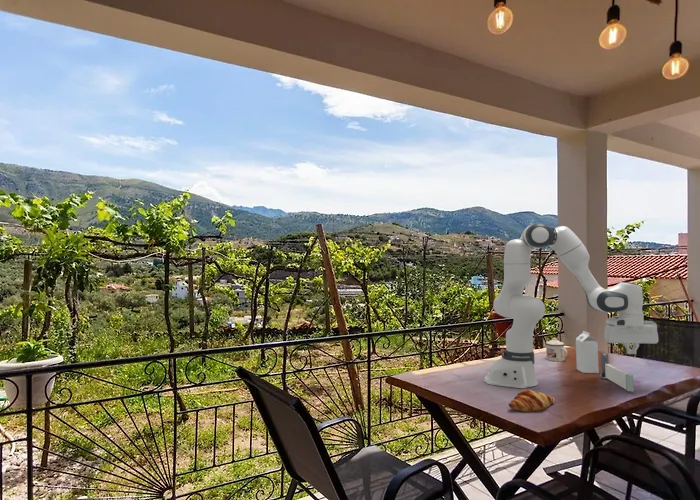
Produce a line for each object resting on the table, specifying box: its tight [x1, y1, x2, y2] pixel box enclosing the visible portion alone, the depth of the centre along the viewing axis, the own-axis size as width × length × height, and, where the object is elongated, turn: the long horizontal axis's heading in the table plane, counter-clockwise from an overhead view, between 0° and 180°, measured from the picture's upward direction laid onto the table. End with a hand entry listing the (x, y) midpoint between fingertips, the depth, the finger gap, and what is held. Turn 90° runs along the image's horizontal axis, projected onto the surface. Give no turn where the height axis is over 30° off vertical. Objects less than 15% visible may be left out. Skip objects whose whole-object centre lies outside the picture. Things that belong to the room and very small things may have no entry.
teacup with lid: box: [545, 337, 568, 362], centre depth 226 cm, size 12×9×12 cm
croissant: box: [508, 389, 555, 413], centre depth 156 cm, size 21×10×8 cm, turn 113°
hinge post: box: [598, 352, 610, 381], centre depth 191 cm, size 5×5×11 cm
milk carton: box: [575, 330, 600, 374], centre depth 203 cm, size 7×7×19 cm
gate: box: [605, 363, 635, 392], centre depth 179 cm, size 20×2×6 cm, turn 172°
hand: (631, 353), depth 176 cm, fingers closed
